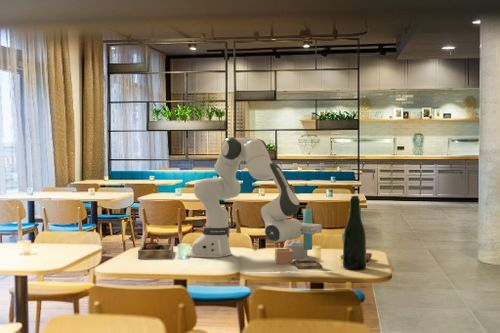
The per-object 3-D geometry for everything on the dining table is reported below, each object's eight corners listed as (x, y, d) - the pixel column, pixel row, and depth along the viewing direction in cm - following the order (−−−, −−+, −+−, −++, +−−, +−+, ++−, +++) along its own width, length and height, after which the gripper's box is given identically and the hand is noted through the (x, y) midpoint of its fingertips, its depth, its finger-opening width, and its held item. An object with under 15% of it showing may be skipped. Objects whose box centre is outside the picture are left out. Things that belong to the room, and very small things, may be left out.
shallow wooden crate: (138, 258, 305) (138, 250, 305) (142, 252, 323) (142, 244, 323) (170, 258, 306) (170, 250, 306) (173, 251, 324) (173, 244, 324)
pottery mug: (139, 258, 307) (138, 243, 311) (147, 264, 315) (146, 248, 319) (161, 253, 304) (160, 237, 308) (169, 258, 312) (168, 243, 316)
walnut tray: (297, 270, 276) (297, 266, 276) (293, 264, 290) (293, 260, 290) (322, 270, 277) (322, 265, 277) (317, 264, 291) (317, 260, 291)
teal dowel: (304, 249, 281) (304, 210, 280) (302, 248, 285) (302, 209, 284) (312, 249, 281) (312, 210, 280) (311, 248, 285) (311, 209, 284)
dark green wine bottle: (338, 267, 284) (338, 195, 283) (357, 265, 288) (358, 194, 287) (351, 271, 275) (351, 197, 273) (370, 269, 279) (371, 196, 278)
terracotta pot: (276, 265, 288) (276, 251, 288) (274, 262, 295) (274, 248, 295) (292, 265, 288) (292, 251, 288) (290, 262, 296) (290, 248, 296)
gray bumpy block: (285, 260, 301) (285, 242, 300) (286, 255, 314) (287, 238, 313) (307, 260, 300) (307, 242, 299) (307, 255, 313) (307, 238, 312)
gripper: (312, 223, 266) (328, 220, 277) (273, 220, 278) (290, 217, 289) (312, 238, 266) (328, 234, 277) (273, 234, 278) (290, 230, 289)
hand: (308, 225), depth 283 cm, fingers closed on teal dowel, 4 cm apart
